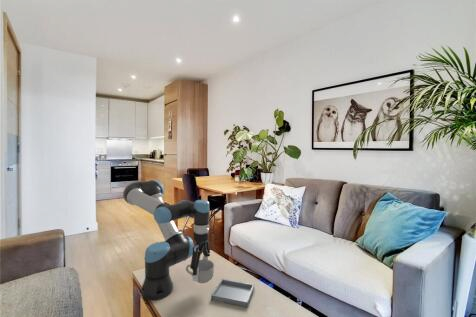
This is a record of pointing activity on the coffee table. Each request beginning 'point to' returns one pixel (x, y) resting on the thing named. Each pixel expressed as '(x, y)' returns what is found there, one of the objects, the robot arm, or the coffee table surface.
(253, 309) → the coffee table surface
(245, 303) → the tray
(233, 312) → the coffee table surface
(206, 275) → the teacup
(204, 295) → the coffee table surface
